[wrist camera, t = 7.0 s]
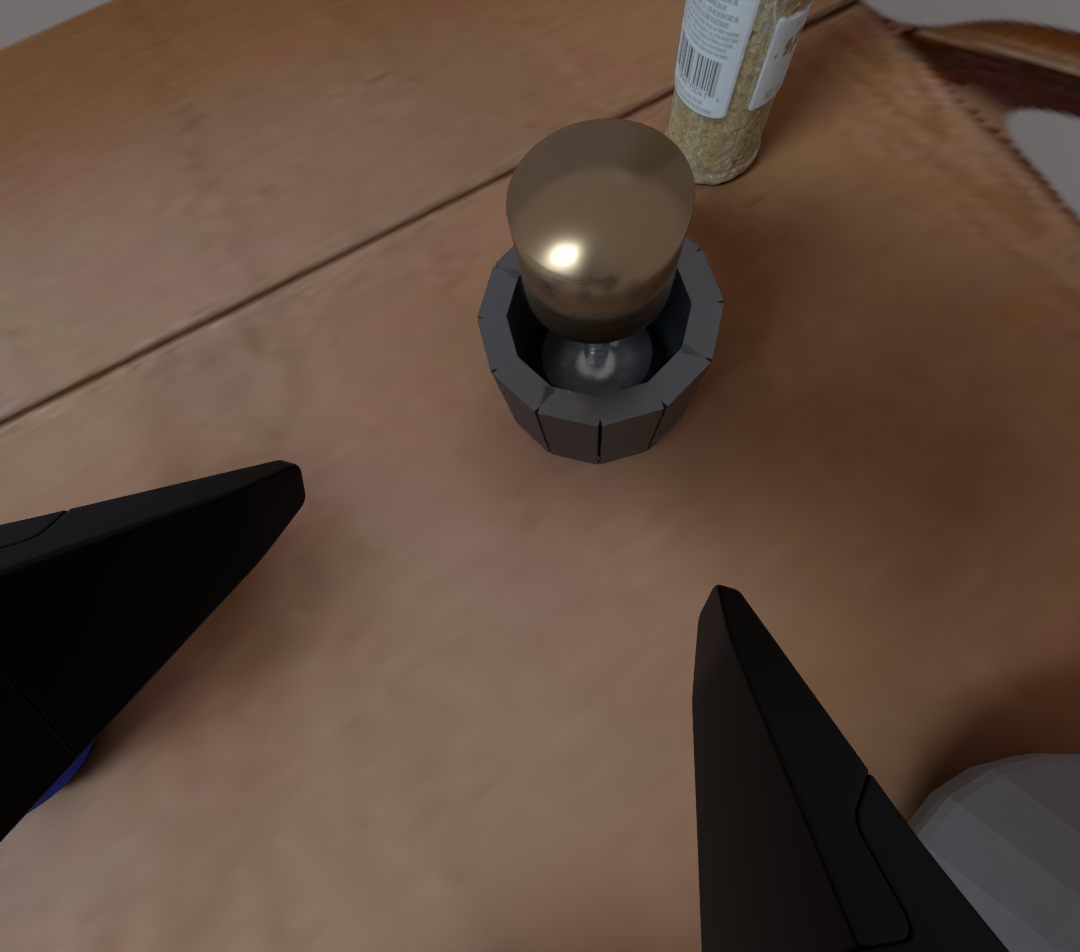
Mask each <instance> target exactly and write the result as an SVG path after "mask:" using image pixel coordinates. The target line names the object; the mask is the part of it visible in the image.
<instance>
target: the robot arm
mask: <svg viewBox="0 0 1080 952" xmlns="http://www.w3.org/2000/svg"><path fill="white" fill-rule="evenodd" d="M304 501H305V490H304V484H303V479H302V473H301V469H300V468H299V466H298V465H296V464H293V463H290V462H286V461H282V460H277V461H273V462H269V463H264V464H260V465H256V466H251V467H247V468H243V469H239V470H234V471H230V472H226V473H222V474H217V475H213V476H209V477H205V478H200V479H196V480H192V481H188V482H183V483H179V484H175V485H171V486H166V487H162V488H158V489H154V490H149V491H145V492H141V493H137V494H132V495H128V496H124V497H120V498H115V499H111V500H107V501H103V502H98V503H94V504H90V505H86V506H81V507H77V508H73V509H70V510H69V511H60V512H55V513H51V514H47V515H43V516H39V517H34V518H30V519H25V520H21V521H16V522H12V523H7V524H3V525H0V842H1V841H2V840H3V839H4V838H5V837H6V835H7V834H8V833H9V832H10V831H11V830H12V829H13V828H14V827H15V826H16V825H17V824H18V823H19V821H20V820H21V819H22V818H23V817H24V816H25V815H26V814H27V813H28V812H29V811H30V810H31V808H32V807H33V806H34V805H35V804H36V803H37V802H38V801H39V800H40V799H41V798H42V797H43V795H44V794H45V793H46V792H47V791H48V790H49V789H50V788H51V787H52V786H53V785H54V784H55V783H56V781H57V780H58V779H59V778H60V777H61V776H62V775H63V774H64V773H65V772H66V771H67V770H68V768H69V767H70V766H71V765H72V764H73V763H74V762H75V761H76V760H77V759H78V756H79V755H81V754H82V753H83V752H84V751H85V750H86V749H87V747H88V746H89V745H90V744H91V743H92V742H93V741H94V740H95V739H96V738H97V737H98V736H99V734H100V733H101V732H102V731H103V730H104V729H105V728H106V727H107V726H108V725H109V724H110V723H111V722H112V720H113V719H114V718H115V717H116V716H117V715H118V714H119V713H120V712H121V711H122V710H123V709H124V708H125V706H126V705H127V704H128V703H129V702H130V701H131V700H132V699H133V698H134V697H135V696H136V695H137V693H138V692H139V691H140V690H141V689H142V688H143V687H144V686H145V685H146V684H147V683H148V682H149V681H150V679H151V678H152V677H153V676H154V675H155V674H156V673H157V672H158V671H159V670H160V669H161V668H162V666H163V665H164V664H165V663H166V662H167V661H168V660H169V659H170V658H171V657H172V656H173V655H174V654H175V652H176V651H177V650H178V649H179V648H180V647H181V646H182V645H183V644H184V643H185V642H186V641H187V639H188V638H189V637H190V636H191V635H192V634H193V633H194V632H195V631H196V630H197V629H198V628H199V627H200V625H201V624H202V623H203V622H204V621H205V620H206V619H207V618H208V617H209V616H210V615H211V614H212V612H213V611H214V610H215V609H216V608H217V607H218V606H219V605H220V604H221V603H222V602H223V601H224V600H225V598H226V597H227V596H228V595H229V594H230V593H231V592H232V591H233V590H234V589H235V588H236V587H237V585H238V584H239V583H240V582H241V581H242V580H243V579H244V578H245V577H246V576H247V575H248V574H249V573H250V571H251V570H252V569H253V568H254V567H255V566H256V565H257V564H258V563H259V561H260V560H261V559H262V558H263V557H264V555H265V554H266V553H267V552H268V550H269V549H270V548H271V546H272V545H273V544H274V542H275V541H276V540H277V539H278V537H279V536H280V535H281V533H282V532H283V531H284V529H285V528H286V527H287V525H288V524H289V523H290V521H291V520H292V519H293V517H294V516H295V515H296V513H297V512H298V511H299V510H300V508H301V507H302V505H303V503H304ZM692 712H693V738H694V763H695V789H696V815H697V840H698V866H699V891H700V917H701V942H702V952H1009V950H1008V949H1007V948H1006V947H1005V945H1004V944H1003V943H1002V942H1001V940H1000V939H999V938H998V937H997V936H996V934H995V933H994V932H993V931H992V929H991V928H990V927H989V926H988V925H987V923H986V922H985V921H984V920H983V918H982V917H981V916H980V915H979V913H978V912H977V911H976V910H975V909H974V907H973V906H972V905H971V904H970V902H969V901H968V900H967V899H966V898H965V896H964V895H963V894H962V893H961V891H960V890H959V889H958V888H957V886H956V885H955V884H954V883H953V881H952V880H951V879H950V877H949V876H948V875H947V874H946V872H945V871H944V870H943V869H942V867H941V866H940V865H939V864H938V862H937V861H936V860H935V859H934V857H933V856H932V855H931V854H930V852H929V851H928V850H927V848H926V847H925V846H924V845H923V843H922V842H921V841H920V839H919V838H918V837H917V835H916V834H915V833H914V831H913V830H912V829H911V827H910V826H909V825H908V823H907V822H906V821H905V819H904V818H903V817H902V815H901V814H900V813H899V811H898V810H897V809H896V807H895V806H894V805H893V803H892V802H891V800H890V799H889V798H888V796H887V795H886V794H885V792H884V791H883V789H882V788H881V787H880V785H879V784H878V782H877V781H876V780H875V778H874V777H873V776H872V775H868V769H867V767H866V766H865V765H864V763H863V762H862V761H861V759H860V758H859V756H858V755H857V754H856V752H855V751H854V749H853V748H852V747H851V745H850V744H849V742H848V741H847V740H846V738H845V737H844V736H843V734H842V733H841V731H840V730H839V729H838V727H837V726H836V724H835V723H834V722H833V720H832V719H831V718H830V716H829V715H828V713H827V712H826V711H825V709H824V708H823V706H822V705H821V704H820V702H819V701H818V699H817V698H816V697H815V695H814V694H813V693H812V691H811V690H810V688H809V687H808V686H807V684H806V683H805V681H804V680H803V679H802V677H801V676H800V674H799V673H798V672H797V670H796V669H795V668H794V666H793V665H792V663H791V662H790V661H789V659H788V658H787V656H786V655H785V654H784V652H783V651H782V650H781V648H780V647H779V645H778V644H777V643H776V641H775V640H774V638H773V637H772V636H771V634H770V633H769V631H768V630H767V629H766V627H765V626H764V625H763V623H762V622H761V620H760V619H759V618H758V616H757V615H756V613H755V612H754V611H753V609H752V608H751V606H750V605H749V604H748V602H747V601H746V600H745V598H744V597H743V595H742V594H741V593H740V592H739V591H738V590H736V589H733V588H729V587H726V586H722V585H716V586H715V587H714V588H713V589H712V591H711V593H710V595H709V597H708V599H707V601H706V603H705V605H704V607H703V609H702V611H701V614H700V617H699V621H698V631H697V643H696V655H695V668H694V680H693V695H692Z"/></svg>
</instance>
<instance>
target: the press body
mask: <svg viewBox="0 0 1080 952" xmlns="http://www.w3.org/2000/svg"><path fill="white" fill-rule="evenodd" d="M699 250H700V246H698V245H697V244H696V243H694V242H693V241H691V240H690V239H689V238H687V237H686V236H685V240H684V244H683V247H682V251H681V255H680V258H679V262H678V266H677V269H676V273H675V277H674V280H673V284H672V288H671V291H670V294H669V297H668V299H667V302H666V304H665V306H664V307H663V309H662V310H661V312H660V313H659V314H658V315H657V317H656V318H655V319H654V320H653V321H652V322H651V323H650V324H649V325H647V326H646V327H645V328H646V330H647V332H648V334H649V336H650V339H651V343H652V361H651V365H650V369H649V372H648V375H647V378H646V380H645V382H644V383H643V384H640V385H637V386H633V387H630V388H626V389H623V390H620V391H616V392H613V393H610V394H606V395H603V396H595V395H590V394H585V393H580V392H575V391H570V390H565V389H560V388H555V387H551V386H550V384H549V382H548V381H547V378H546V375H545V371H544V367H543V362H542V349H543V344H544V341H545V338H546V336H547V334H548V332H549V329H548V328H546V327H545V326H544V325H543V324H542V323H541V322H540V321H539V320H538V319H537V317H536V316H535V315H534V313H533V311H532V309H531V308H530V305H529V303H528V300H527V297H526V293H525V289H524V284H523V280H522V276H521V272H520V268H519V264H518V260H517V256H516V251H515V247H514V246H513V247H512V248H511V249H510V250H509V251H508V252H507V253H506V254H505V255H504V256H503V257H502V258H500V259H499V260H498V261H497V262H496V263H495V264H496V267H494V266H493V269H492V272H491V275H490V279H489V282H488V285H487V288H486V291H485V294H484V297H483V301H482V304H481V307H480V310H479V313H478V318H479V319H478V324H479V328H480V332H481V336H482V339H483V343H484V347H485V351H486V355H487V359H488V362H489V366H490V370H491V372H492V374H493V376H494V378H495V380H496V382H497V384H498V386H499V388H500V390H501V392H502V394H503V396H504V398H505V400H506V402H507V404H508V406H509V408H510V410H511V412H512V414H513V416H514V418H515V420H516V421H517V423H518V424H519V425H520V426H521V427H522V428H523V429H525V430H526V431H527V432H528V433H529V434H530V435H531V436H532V437H533V438H534V439H535V440H536V441H537V442H538V443H539V444H541V445H542V446H543V447H544V448H545V449H546V450H547V451H548V452H550V451H551V453H552V454H554V455H559V456H563V457H567V458H572V459H576V460H580V461H585V462H589V463H594V464H597V462H598V461H599V462H600V464H603V463H606V462H610V461H613V460H617V459H620V458H624V457H627V456H631V455H634V454H638V453H641V452H645V451H646V450H647V448H648V449H650V448H651V447H652V446H653V445H654V444H655V443H656V442H657V440H658V439H659V438H660V437H661V436H662V435H663V434H664V433H665V432H666V431H667V430H668V429H669V428H670V427H671V426H672V425H673V424H674V423H675V422H676V421H677V420H678V419H679V418H680V417H681V415H682V414H683V412H684V410H685V408H686V406H687V405H688V403H689V401H690V399H691V397H692V395H693V394H694V392H695V390H696V388H697V386H698V385H699V383H700V381H701V379H702V377H703V376H704V374H705V372H706V370H707V368H708V366H709V365H710V363H711V361H712V359H713V355H714V350H715V345H716V340H717V336H718V331H719V326H720V321H721V317H722V312H723V307H724V303H723V301H724V299H723V297H722V294H721V292H720V289H719V287H718V285H717V282H716V280H715V278H714V275H713V273H712V270H711V268H710V266H709V263H708V261H707V258H706V256H705V254H704V251H703V250H701V251H699Z"/></svg>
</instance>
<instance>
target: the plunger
mask: <svg viewBox="0 0 1080 952" xmlns="http://www.w3.org/2000/svg"><path fill="white" fill-rule="evenodd" d="M694 200H695V182H694V176H693V173H692V170H691V167H690V164H689V162H688V161H687V159H686V157H685V155H684V154H683V153H682V151H681V150H680V149H679V147H678V146H677V145H676V144H675V143H674V142H673V141H672V140H671V139H669V138H668V137H667V136H665V135H664V134H662V133H661V132H659V131H657V130H655V129H654V128H651V127H649V126H647V125H644V124H641V123H638V122H634V121H630V120H623V119H610V118H606V119H594V120H588V121H583V122H579V123H575V124H572V125H569V126H567V127H564V128H562V129H560V130H558V131H556V132H554V133H552V134H550V135H549V136H547V137H546V138H544V139H543V140H541V141H540V142H539V143H538V144H536V145H535V146H534V147H533V148H532V149H531V150H530V151H529V152H528V153H527V154H526V155H525V156H524V158H523V159H522V160H521V162H520V163H519V164H518V166H517V168H516V170H515V172H514V173H513V176H512V178H511V181H510V183H509V187H508V191H507V198H506V212H507V218H508V222H509V227H510V231H511V235H512V239H513V243H514V247H515V251H516V256H517V260H518V264H519V268H520V272H521V276H522V280H523V284H524V289H525V293H526V297H527V300H528V303H529V305H530V308H531V309H532V311H533V313H534V315H535V316H536V317H537V319H538V320H539V321H540V322H541V323H542V324H543V325H544V326H545V327H546V328H548V329H549V332H548V334H547V336H546V338H545V341H544V344H543V349H542V362H543V367H544V371H545V375H546V378H547V381H548V382H549V384H550V386H551V387H555V388H560V389H565V390H570V391H575V392H580V393H585V394H590V395H595V396H603V395H606V394H610V393H613V392H616V391H620V390H623V389H626V388H630V387H633V386H637V385H640V384H643V383H644V382H645V380H646V378H647V375H648V372H649V369H650V365H651V361H652V343H651V339H650V336H649V334H648V332H647V330H646V328H645V327H646V326H647V325H649V324H650V323H651V322H652V321H653V320H654V319H655V318H656V317H657V315H658V314H659V313H660V312H661V310H662V309H663V307H664V306H665V304H666V302H667V299H668V297H669V294H670V291H671V288H672V284H673V280H674V277H675V273H676V269H677V266H678V262H679V258H680V255H681V251H682V247H683V244H684V240H685V236H686V232H687V229H688V225H689V221H690V218H691V214H692V210H693V207H694Z"/></svg>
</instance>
